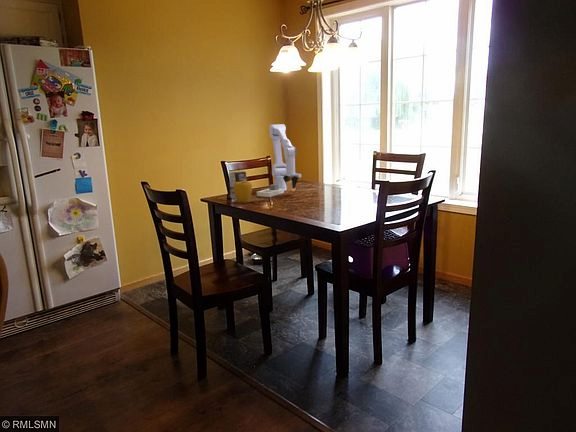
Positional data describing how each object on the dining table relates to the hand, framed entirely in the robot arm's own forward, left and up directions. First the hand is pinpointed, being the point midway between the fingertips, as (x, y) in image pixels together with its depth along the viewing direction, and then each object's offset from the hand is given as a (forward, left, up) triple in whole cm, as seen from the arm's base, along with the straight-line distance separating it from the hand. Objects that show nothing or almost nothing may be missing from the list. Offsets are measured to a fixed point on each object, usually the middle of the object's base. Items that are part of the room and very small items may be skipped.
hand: (291, 187), depth 273 cm
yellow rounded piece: (+31, -14, -5) cm, 34 cm away
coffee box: (+21, -26, -5) cm, 34 cm away
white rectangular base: (+6, -12, -5) cm, 14 cm away
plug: (0, 0, -2) cm, 2 cm away
